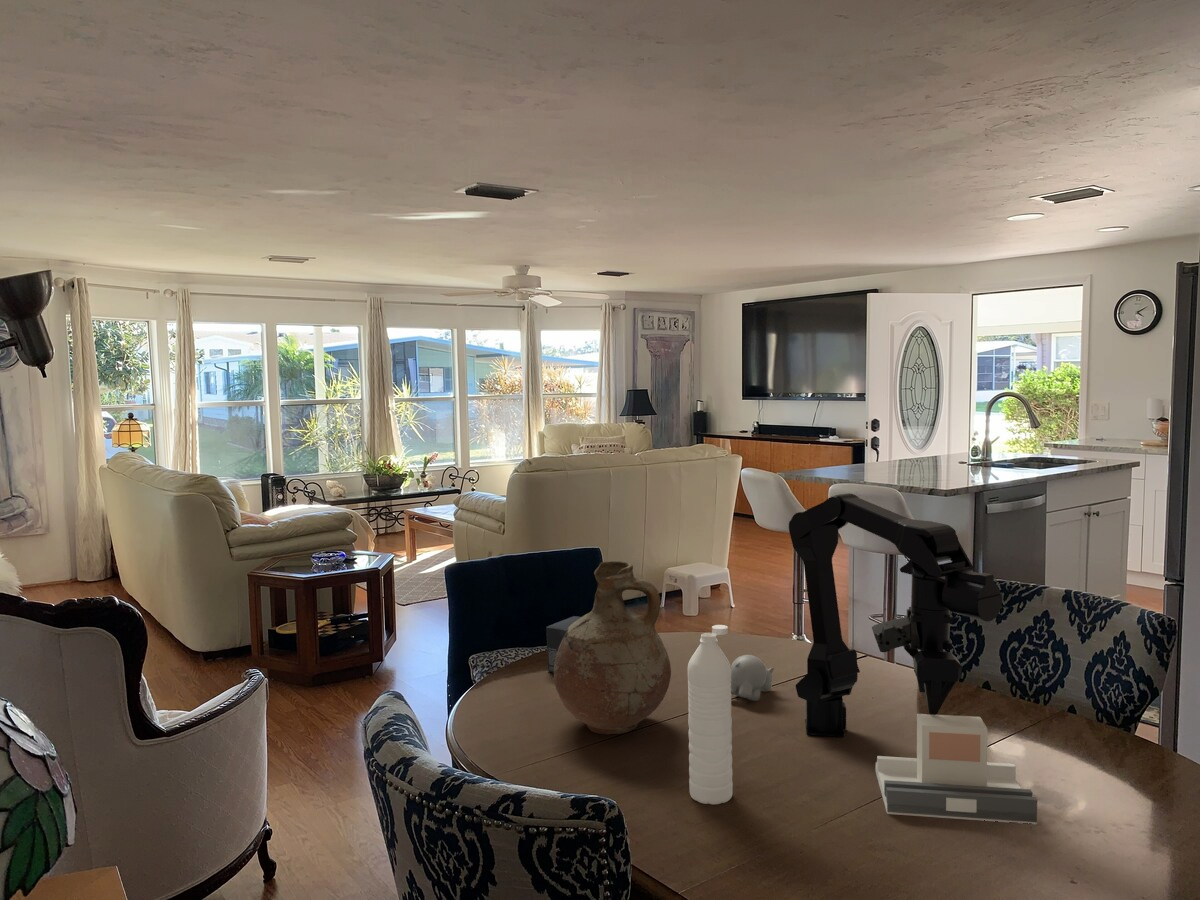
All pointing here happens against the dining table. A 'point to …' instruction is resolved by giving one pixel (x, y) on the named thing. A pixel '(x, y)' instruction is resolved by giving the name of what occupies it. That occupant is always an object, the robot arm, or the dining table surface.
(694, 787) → the water bottle
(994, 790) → the shelf
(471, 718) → the dining table surface
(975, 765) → the cream carton
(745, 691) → the round bodied animal figurine
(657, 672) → the jug
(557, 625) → the small box
